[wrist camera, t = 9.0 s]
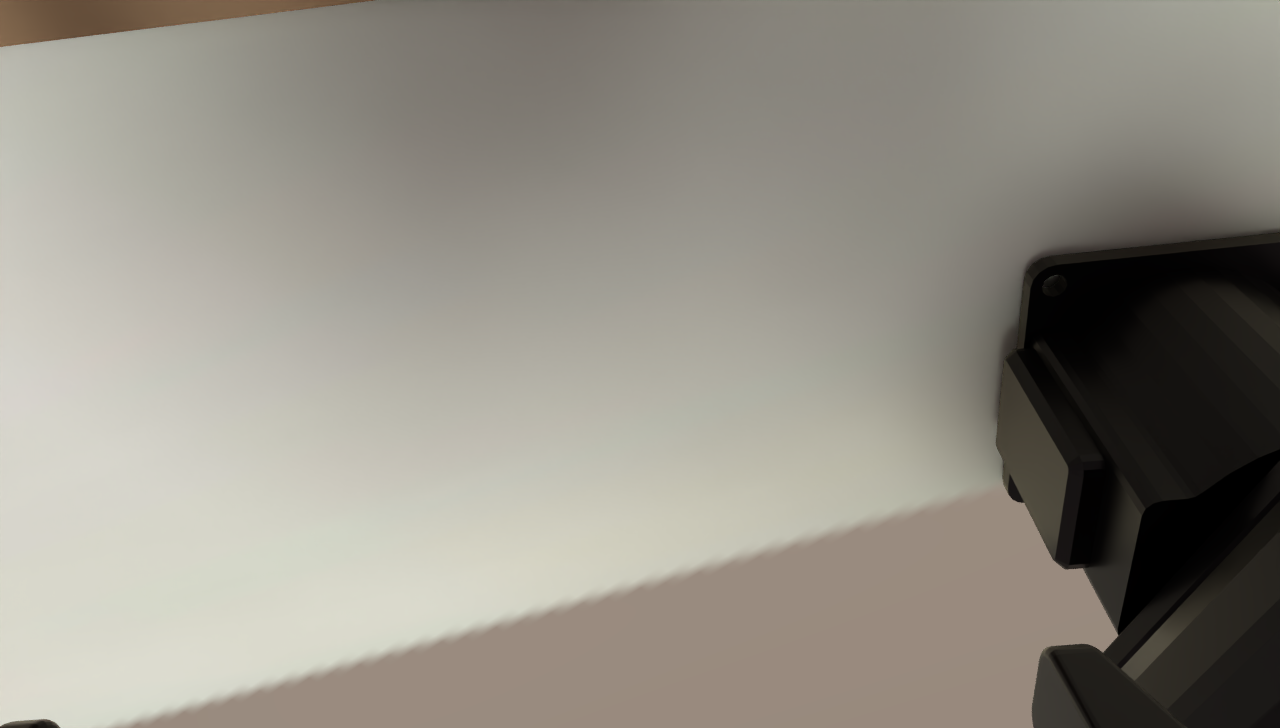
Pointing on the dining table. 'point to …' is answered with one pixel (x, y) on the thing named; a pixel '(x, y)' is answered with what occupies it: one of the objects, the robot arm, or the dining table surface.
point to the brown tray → (125, 15)
